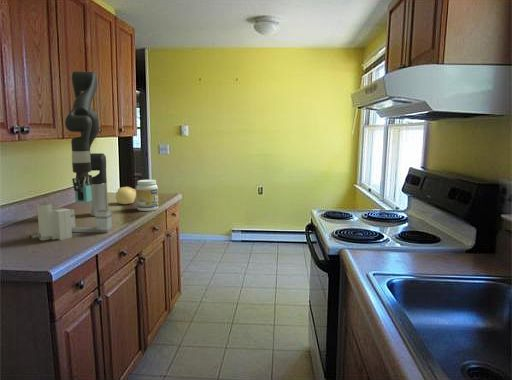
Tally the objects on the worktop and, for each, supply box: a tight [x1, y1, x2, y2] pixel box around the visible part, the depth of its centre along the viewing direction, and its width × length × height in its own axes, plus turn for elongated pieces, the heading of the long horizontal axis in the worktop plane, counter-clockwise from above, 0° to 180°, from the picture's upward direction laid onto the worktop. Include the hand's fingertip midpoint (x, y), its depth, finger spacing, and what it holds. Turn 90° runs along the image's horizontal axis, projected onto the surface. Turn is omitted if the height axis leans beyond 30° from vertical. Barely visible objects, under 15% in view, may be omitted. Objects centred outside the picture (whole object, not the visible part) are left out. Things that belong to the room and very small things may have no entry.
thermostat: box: [29, 202, 73, 241], centre depth 161 cm, size 12×14×15 cm
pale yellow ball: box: [115, 186, 136, 205], centre depth 240 cm, size 12×12×11 cm
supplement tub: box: [135, 179, 159, 212], centre depth 222 cm, size 12×12×17 cm
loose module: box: [74, 184, 92, 203], centre depth 171 cm, size 5×5×7 cm
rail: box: [68, 208, 113, 234], centre depth 173 cm, size 5×22×10 cm, turn 89°
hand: (83, 199), depth 172 cm, fingers closed on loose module, 5 cm apart
